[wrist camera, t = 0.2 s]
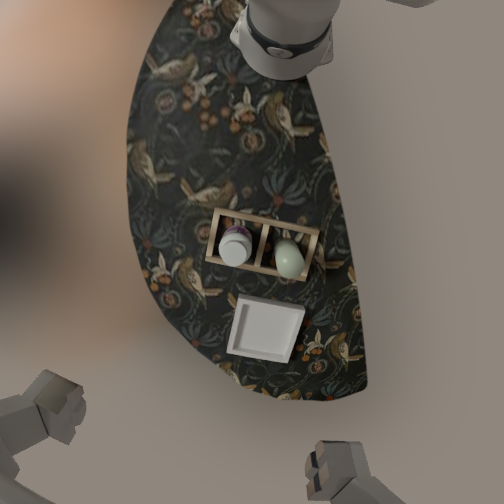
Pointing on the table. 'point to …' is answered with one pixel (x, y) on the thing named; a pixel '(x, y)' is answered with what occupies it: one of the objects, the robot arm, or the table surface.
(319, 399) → the table surface
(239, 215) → the light wood flat frame
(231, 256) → the pill bottle
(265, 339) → the grey tray
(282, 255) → the sage vial
